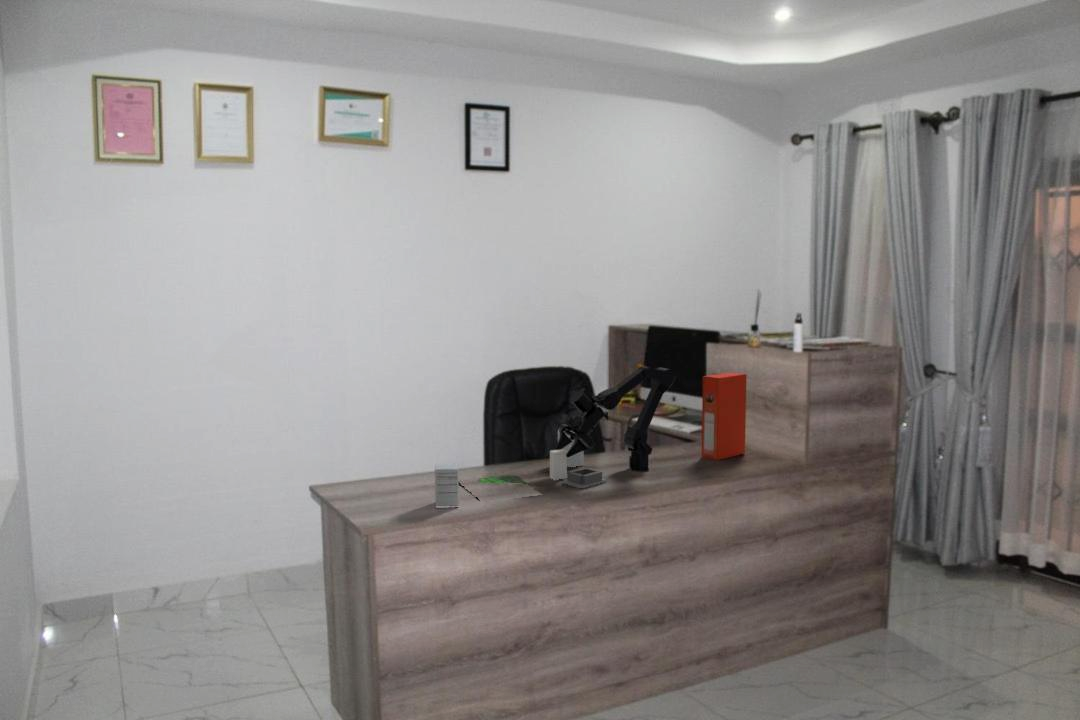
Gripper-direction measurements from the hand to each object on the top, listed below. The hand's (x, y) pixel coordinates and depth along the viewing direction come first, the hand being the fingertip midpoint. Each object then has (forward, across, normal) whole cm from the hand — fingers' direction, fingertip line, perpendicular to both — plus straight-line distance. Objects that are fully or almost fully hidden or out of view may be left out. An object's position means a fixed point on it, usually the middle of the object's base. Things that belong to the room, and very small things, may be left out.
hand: (561, 453), depth 304 cm
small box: (-2, -16, +15) cm, 22 cm away
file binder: (-46, -5, +58) cm, 74 cm away
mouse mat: (+24, +4, -11) cm, 27 cm away
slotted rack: (+3, +9, +10) cm, 14 cm away
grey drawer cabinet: (+40, +15, -27) cm, 50 cm away
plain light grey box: (+7, 0, +6) cm, 9 cm away
